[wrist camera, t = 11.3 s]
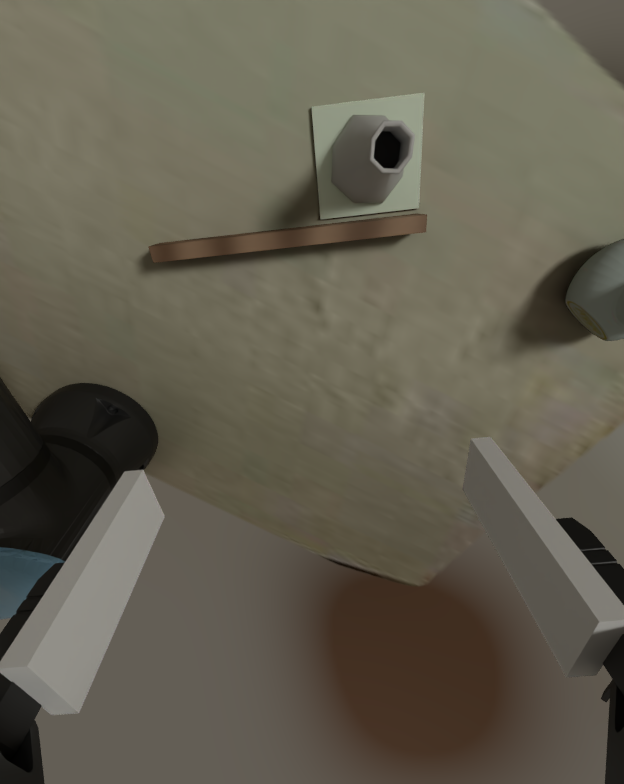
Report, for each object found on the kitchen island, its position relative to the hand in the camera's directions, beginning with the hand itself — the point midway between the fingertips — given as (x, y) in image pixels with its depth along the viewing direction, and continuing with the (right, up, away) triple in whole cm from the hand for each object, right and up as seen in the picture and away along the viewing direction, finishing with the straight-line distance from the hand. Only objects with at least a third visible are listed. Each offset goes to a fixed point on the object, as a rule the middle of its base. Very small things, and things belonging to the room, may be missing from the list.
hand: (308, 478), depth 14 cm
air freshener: (+33, +16, +25) cm, 45 cm away
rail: (-2, +20, +22) cm, 30 cm away
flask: (+5, +26, +19) cm, 32 cm away
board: (+6, +26, +19) cm, 32 cm away
